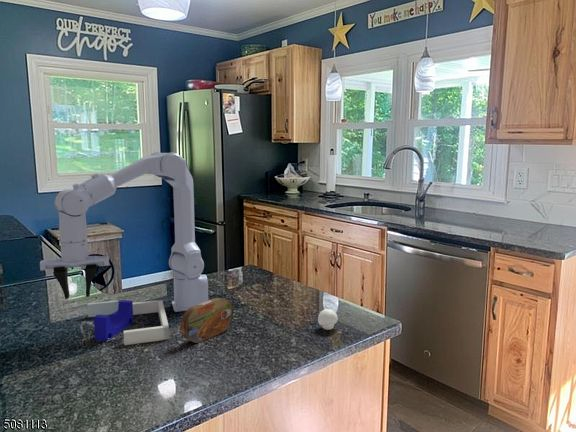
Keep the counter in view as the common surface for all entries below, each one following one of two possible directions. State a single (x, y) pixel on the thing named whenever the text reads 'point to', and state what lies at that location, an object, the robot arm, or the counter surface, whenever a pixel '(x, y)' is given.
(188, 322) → the tin
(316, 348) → the counter surface
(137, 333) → the bracket
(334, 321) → the mushroom
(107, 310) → the gate
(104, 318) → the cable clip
